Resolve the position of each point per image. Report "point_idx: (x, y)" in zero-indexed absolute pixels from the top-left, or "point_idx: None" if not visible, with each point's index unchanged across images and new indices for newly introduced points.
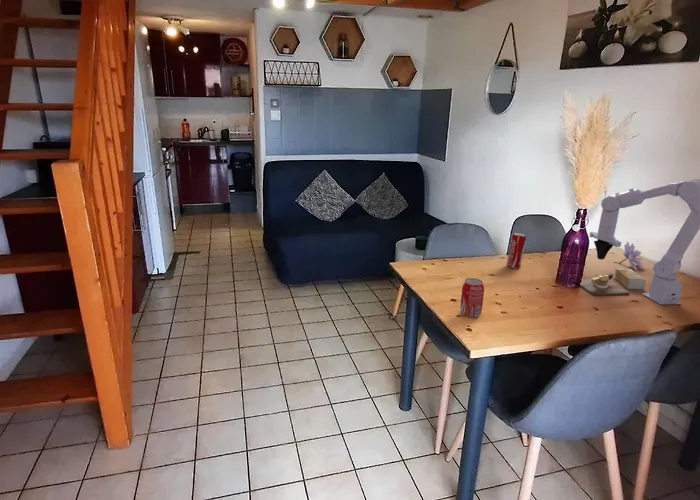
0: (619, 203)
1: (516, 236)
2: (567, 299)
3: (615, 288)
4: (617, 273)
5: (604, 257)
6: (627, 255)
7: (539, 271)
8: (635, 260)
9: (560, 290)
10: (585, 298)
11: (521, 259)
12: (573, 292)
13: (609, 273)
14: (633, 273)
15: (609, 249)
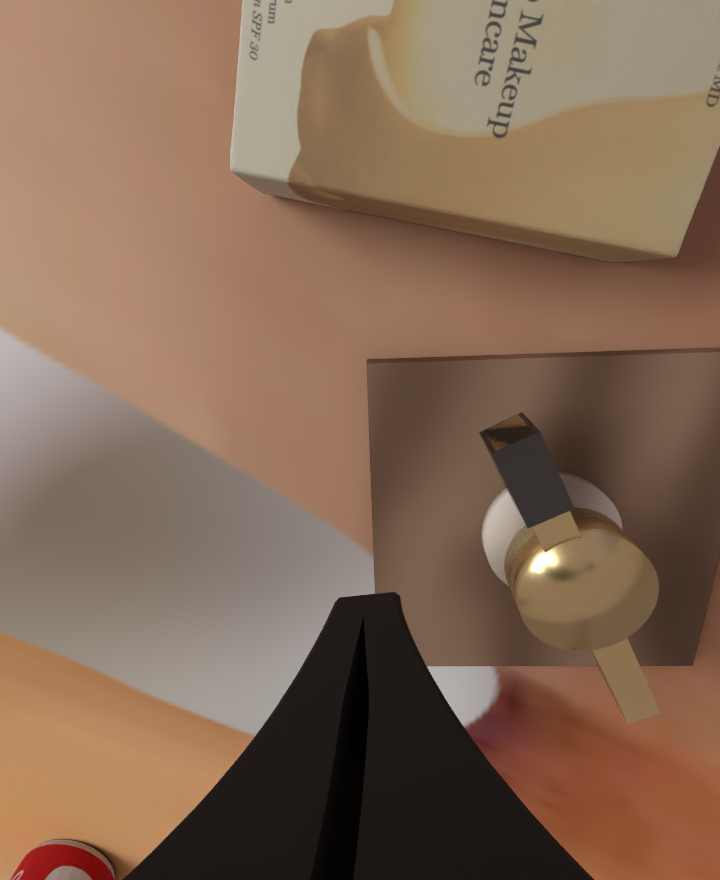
0: None
1: None
2: (688, 825)
3: (628, 425)
4: (323, 198)
5: (402, 618)
6: None
7: (149, 765)
8: None
9: (535, 798)
10: (707, 726)
11: None
12: (586, 744)
13: (508, 461)
14: (485, 9)
15: (489, 772)
